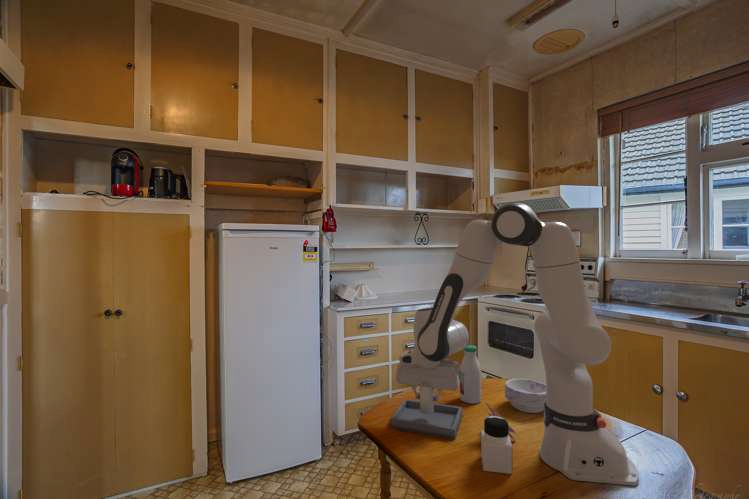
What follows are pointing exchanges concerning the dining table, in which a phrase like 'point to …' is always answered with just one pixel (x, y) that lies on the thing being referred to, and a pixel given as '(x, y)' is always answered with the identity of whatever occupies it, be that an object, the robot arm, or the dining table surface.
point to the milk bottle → (470, 376)
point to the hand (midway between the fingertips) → (427, 399)
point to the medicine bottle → (496, 446)
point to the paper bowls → (526, 394)
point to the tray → (427, 419)
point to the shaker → (426, 398)
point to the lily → (498, 416)
